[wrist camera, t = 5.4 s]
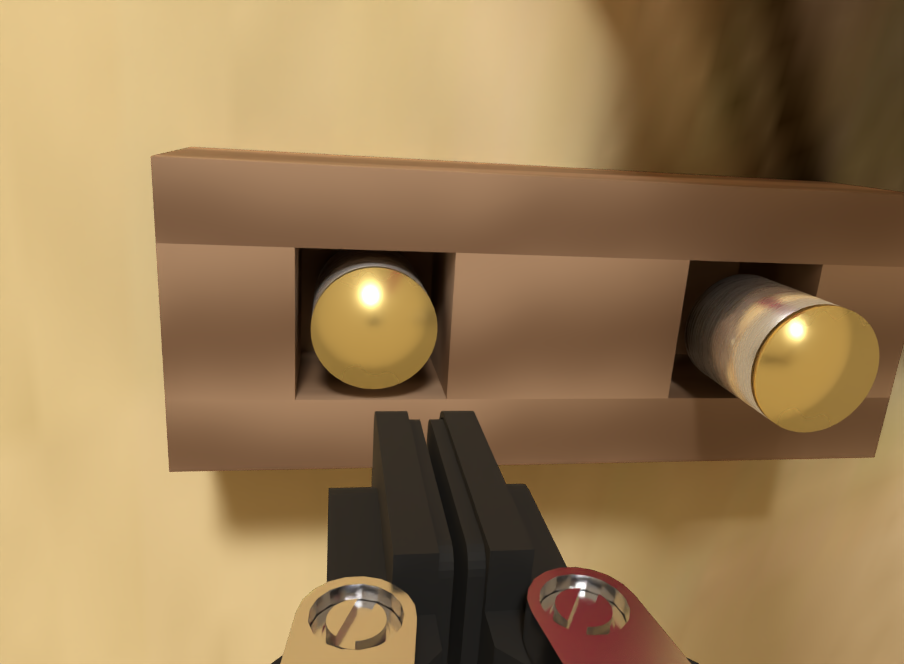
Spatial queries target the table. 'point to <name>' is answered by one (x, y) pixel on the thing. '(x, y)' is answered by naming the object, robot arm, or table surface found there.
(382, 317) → the peg
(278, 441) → the collar block
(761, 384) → the peg
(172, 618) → the table surface
